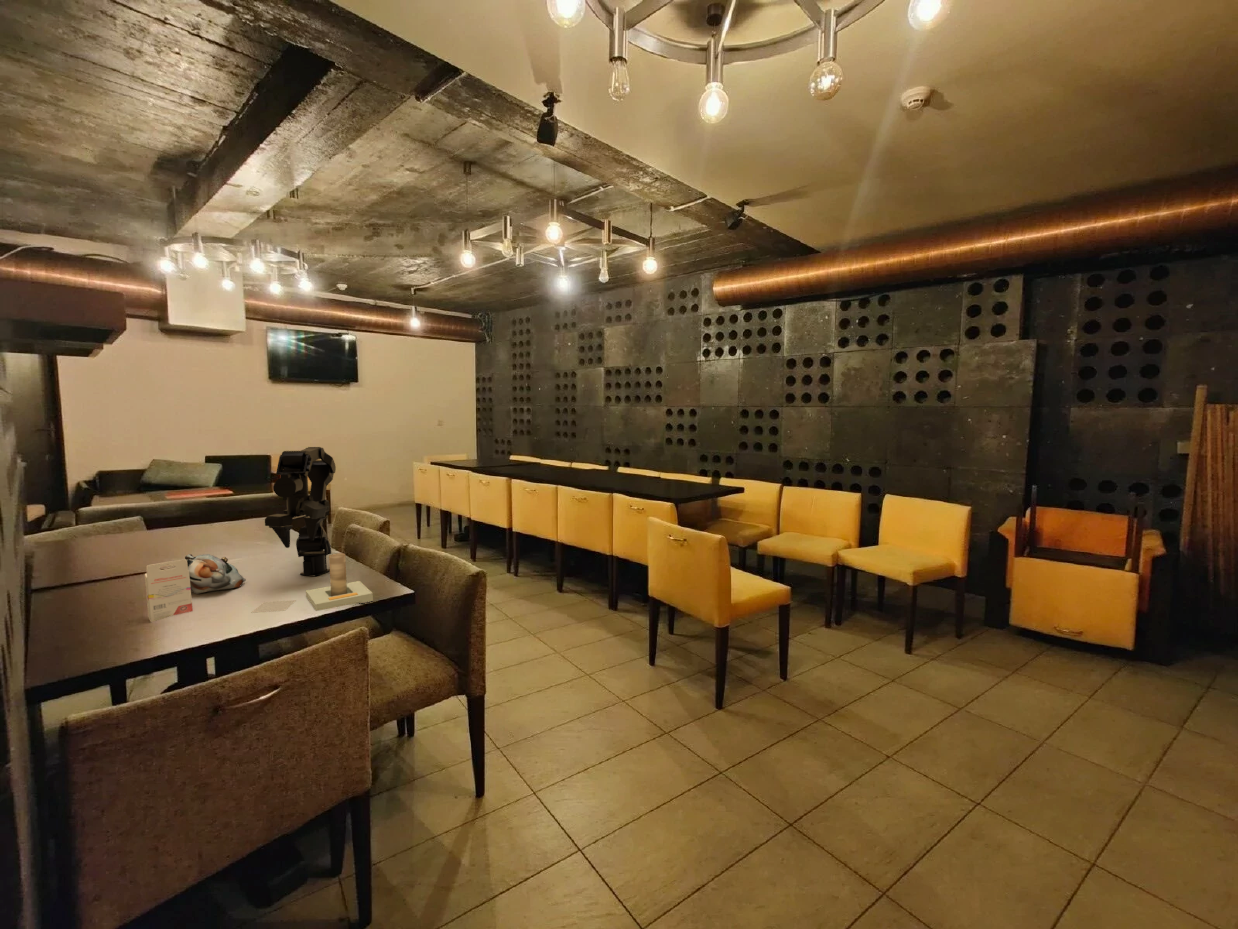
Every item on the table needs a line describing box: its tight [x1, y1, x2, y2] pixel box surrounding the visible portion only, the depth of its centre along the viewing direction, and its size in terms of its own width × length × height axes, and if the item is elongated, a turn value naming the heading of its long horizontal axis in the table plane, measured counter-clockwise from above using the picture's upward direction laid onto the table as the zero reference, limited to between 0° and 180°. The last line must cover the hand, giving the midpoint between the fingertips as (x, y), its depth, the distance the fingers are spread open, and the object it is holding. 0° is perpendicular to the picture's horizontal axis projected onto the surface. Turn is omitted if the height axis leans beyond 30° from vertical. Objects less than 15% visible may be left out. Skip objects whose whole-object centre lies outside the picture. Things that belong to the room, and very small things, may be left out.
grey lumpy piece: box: [184, 553, 246, 595], centre depth 158 cm, size 15×12×14 cm
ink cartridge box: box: [144, 558, 194, 623], centre depth 138 cm, size 9×5×15 cm, turn 136°
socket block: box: [305, 580, 374, 612], centre depth 150 cm, size 14×14×3 cm
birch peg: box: [328, 552, 348, 597], centre depth 150 cm, size 4×4×13 cm
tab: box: [250, 599, 297, 614], centre depth 144 cm, size 8×8×1 cm
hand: (300, 544), depth 161 cm, fingers open, 9 cm apart
